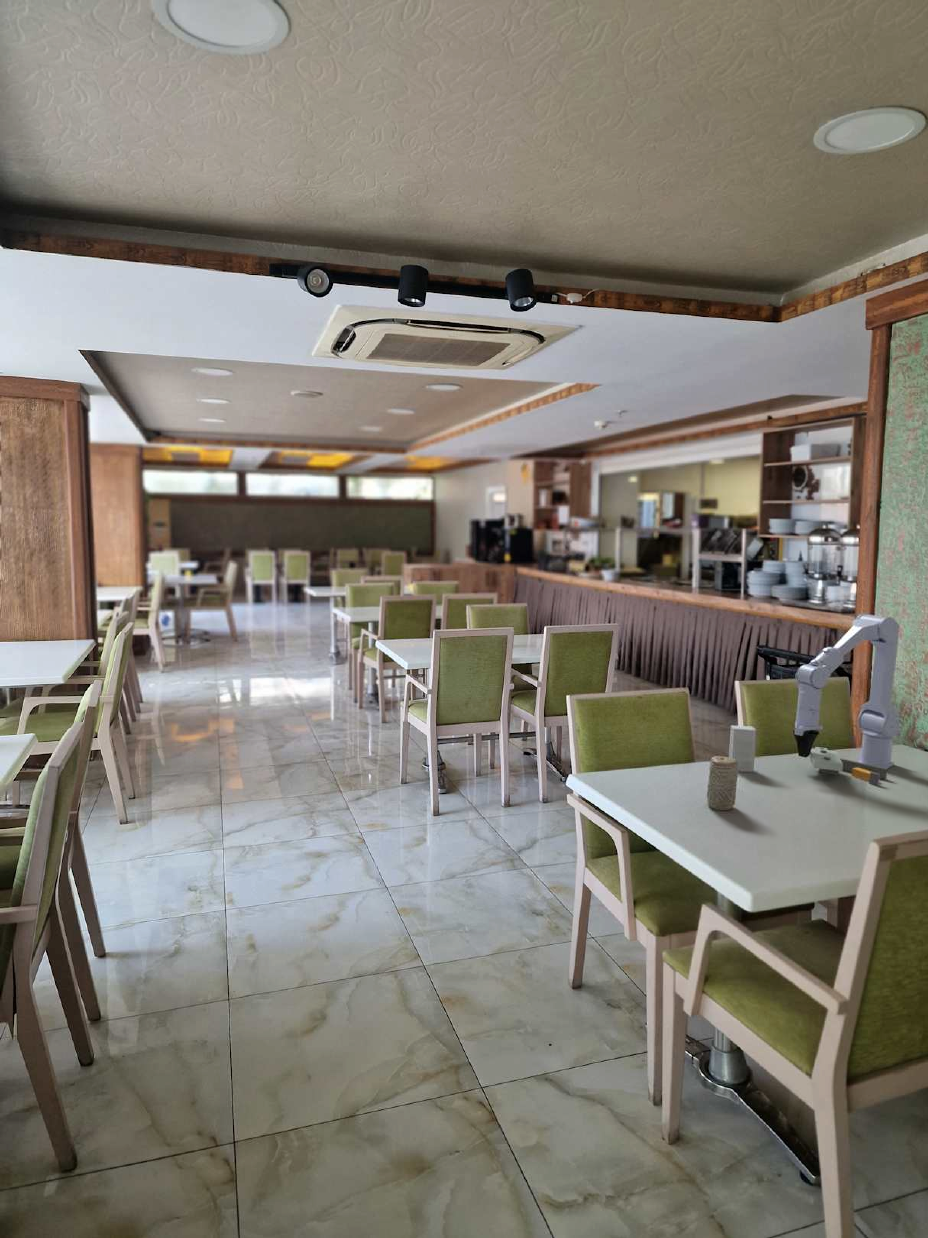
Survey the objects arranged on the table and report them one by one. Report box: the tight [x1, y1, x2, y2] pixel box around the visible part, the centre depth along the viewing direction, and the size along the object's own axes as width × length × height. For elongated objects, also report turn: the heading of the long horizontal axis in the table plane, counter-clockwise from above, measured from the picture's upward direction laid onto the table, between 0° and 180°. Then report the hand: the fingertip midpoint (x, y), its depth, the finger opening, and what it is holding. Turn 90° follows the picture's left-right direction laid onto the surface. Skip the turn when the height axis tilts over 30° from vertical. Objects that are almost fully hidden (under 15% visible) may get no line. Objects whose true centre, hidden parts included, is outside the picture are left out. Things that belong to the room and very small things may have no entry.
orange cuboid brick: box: [851, 768, 871, 782], centre depth 209 cm, size 2×5×2 cm, turn 28°
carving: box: [706, 755, 739, 811], centre depth 182 cm, size 6×8×12 cm
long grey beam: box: [818, 757, 888, 786], centre depth 212 cm, size 8×15×3 cm, turn 46°
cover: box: [808, 746, 844, 772], centre depth 211 cm, size 7×15×6 cm, turn 162°
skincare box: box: [728, 725, 757, 773], centre depth 213 cm, size 6×4×12 cm
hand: (803, 756), depth 213 cm, fingers closed
